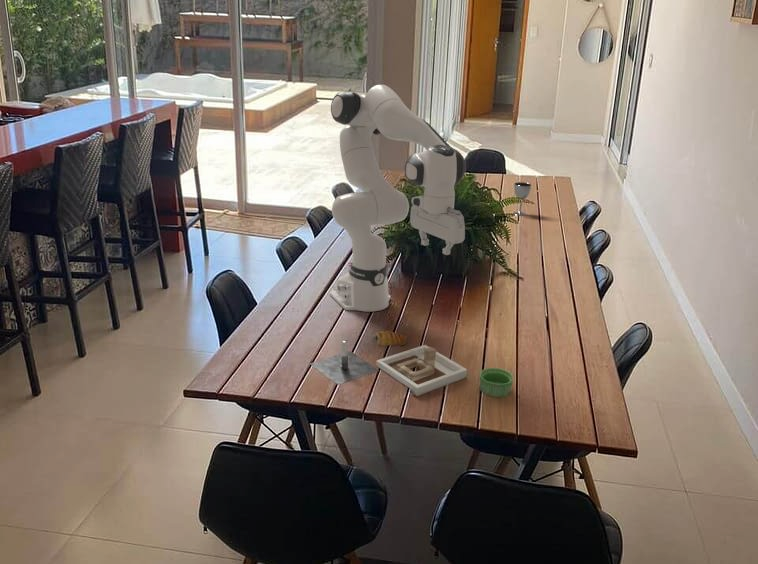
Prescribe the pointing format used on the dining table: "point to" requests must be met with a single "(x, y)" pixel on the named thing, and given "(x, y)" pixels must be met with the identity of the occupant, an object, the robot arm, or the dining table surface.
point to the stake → (344, 366)
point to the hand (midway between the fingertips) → (435, 249)
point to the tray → (441, 363)
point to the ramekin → (496, 382)
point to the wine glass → (521, 194)
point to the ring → (419, 365)
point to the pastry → (390, 338)
